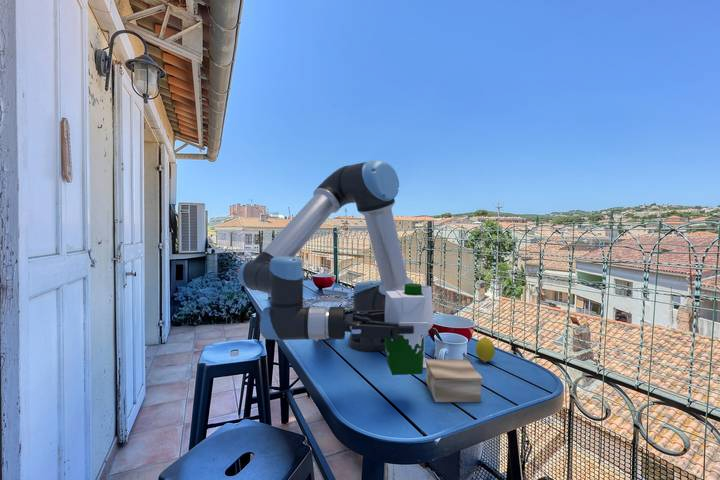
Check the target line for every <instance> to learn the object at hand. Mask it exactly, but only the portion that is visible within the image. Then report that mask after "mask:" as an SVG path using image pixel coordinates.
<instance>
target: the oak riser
mask: <svg viewBox="0 0 720 480" xmlns="http://www.w3.org/2000/svg"><path fill="white" fill-rule="evenodd" d="M425 363H426V368H425V382H426V385H427V386H428V389H429V390H430V393H431V396H432V398H433V400H434V402H435V403H481V401H482V382H483V381H484V378H483V376H482V375H481V374H480V373H479V372H478V371H477V370H476V369H475V367H474V365H472V363H470V361H469V360H468V359H466V358H465V359H464V358H463V359H446V358H444V359H442V358H441V359H440V358H439V359H437V358H436V359H435V358H433V359H432V358H430V359H429V358H426V359H425Z"/></svg>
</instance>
